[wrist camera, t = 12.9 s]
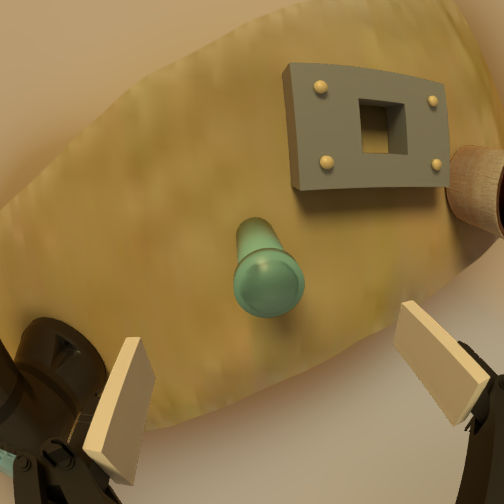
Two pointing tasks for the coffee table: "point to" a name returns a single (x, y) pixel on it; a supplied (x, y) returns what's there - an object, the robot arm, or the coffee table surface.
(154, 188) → the coffee table surface
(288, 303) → the plug
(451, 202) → the planter
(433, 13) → the coffee table surface
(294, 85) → the grey socket block
